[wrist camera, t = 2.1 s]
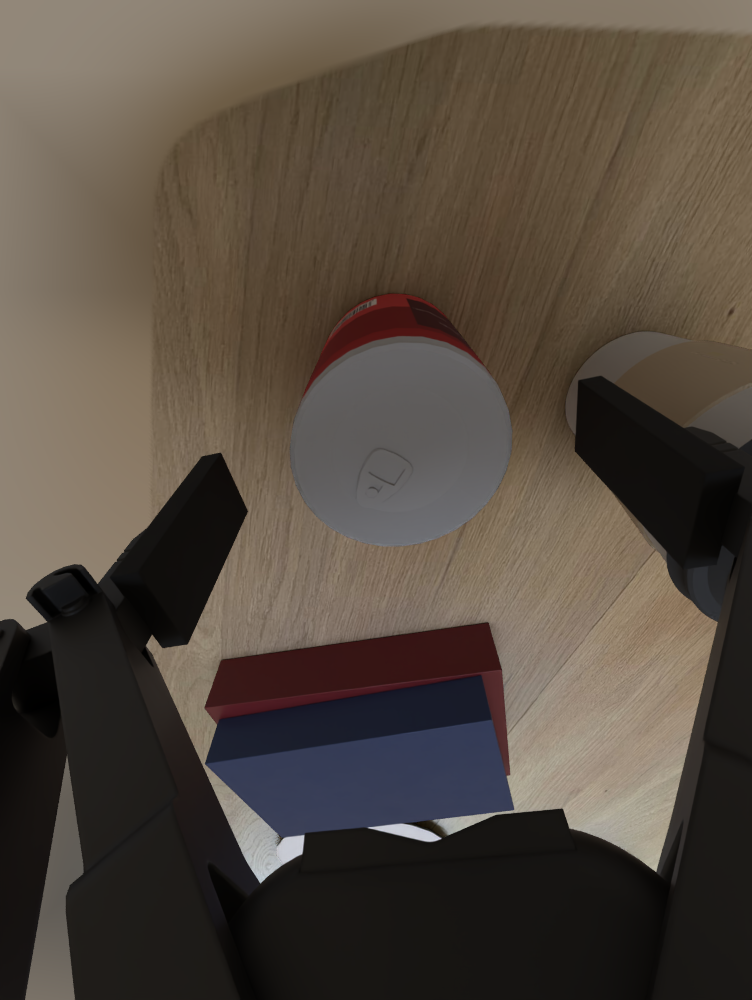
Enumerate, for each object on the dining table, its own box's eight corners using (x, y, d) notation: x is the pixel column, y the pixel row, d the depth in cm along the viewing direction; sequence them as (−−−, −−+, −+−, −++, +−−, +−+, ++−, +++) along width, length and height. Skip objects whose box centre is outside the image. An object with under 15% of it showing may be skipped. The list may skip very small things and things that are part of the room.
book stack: (220, 660, 38) (188, 753, 31) (488, 622, 35) (514, 715, 29) (282, 752, 47) (267, 840, 40) (498, 728, 44) (520, 818, 38)
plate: (242, 830, 59) (238, 845, 57) (400, 790, 52) (401, 806, 51) (336, 882, 71) (335, 896, 69) (475, 855, 64) (477, 870, 63)
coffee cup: (746, 358, 23) (1176, 515, 11) (625, 483, 28) (830, 696, 15) (625, 275, 21) (992, 350, 9) (514, 425, 26) (649, 619, 13)
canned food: (311, 417, 25) (273, 528, 16) (338, 271, 21) (309, 307, 12) (432, 446, 26) (462, 566, 17) (481, 312, 22) (557, 376, 13)
